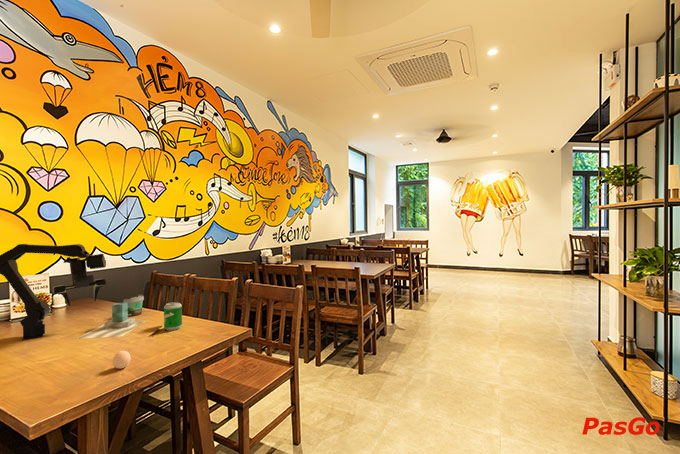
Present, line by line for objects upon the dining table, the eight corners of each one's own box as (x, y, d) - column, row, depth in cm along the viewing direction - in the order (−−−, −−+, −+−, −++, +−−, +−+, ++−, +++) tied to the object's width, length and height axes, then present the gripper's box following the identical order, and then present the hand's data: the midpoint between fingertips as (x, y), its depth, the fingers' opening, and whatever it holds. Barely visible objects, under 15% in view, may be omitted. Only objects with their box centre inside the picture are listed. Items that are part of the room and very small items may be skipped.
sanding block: (104, 328, 144) (104, 306, 143) (112, 324, 150) (112, 302, 150) (127, 327, 145) (127, 305, 145) (134, 323, 151) (134, 301, 151)
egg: (132, 367, 107) (132, 350, 107) (114, 372, 103) (114, 355, 103) (128, 363, 110) (128, 346, 110) (110, 368, 106) (110, 351, 106)
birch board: (75, 342, 130) (75, 338, 130) (107, 325, 152) (107, 322, 152) (121, 339, 133) (121, 336, 133) (146, 323, 155) (146, 320, 155)
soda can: (177, 325, 152) (177, 300, 152) (184, 328, 148) (184, 303, 148) (161, 329, 147) (161, 303, 147) (168, 332, 142) (167, 306, 142)
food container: (134, 318, 165) (134, 299, 165) (123, 318, 165) (122, 299, 165) (149, 311, 177) (149, 294, 177) (138, 311, 178) (138, 294, 177)
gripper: (52, 275, 133) (57, 311, 133) (106, 267, 146) (110, 300, 146) (51, 274, 140) (55, 308, 141) (102, 267, 154) (105, 298, 154)
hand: (82, 303), depth 145 cm, fingers open, 9 cm apart
